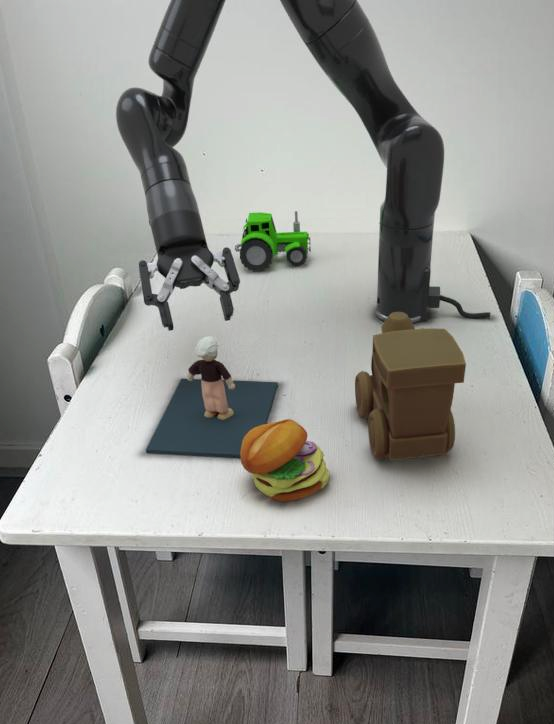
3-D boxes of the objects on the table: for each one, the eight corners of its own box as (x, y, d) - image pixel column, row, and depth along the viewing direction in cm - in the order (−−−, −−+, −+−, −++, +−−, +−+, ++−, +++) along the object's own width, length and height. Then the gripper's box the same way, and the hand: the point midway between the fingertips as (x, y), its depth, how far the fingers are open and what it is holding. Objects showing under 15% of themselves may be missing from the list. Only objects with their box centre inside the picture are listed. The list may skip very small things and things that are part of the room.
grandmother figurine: (242, 408, 113) (235, 332, 105) (236, 422, 110) (229, 345, 102) (194, 404, 115) (184, 330, 107) (187, 418, 112) (175, 342, 104)
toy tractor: (311, 270, 155) (310, 222, 149) (234, 273, 156) (229, 225, 150) (310, 250, 164) (309, 204, 158) (237, 253, 164) (233, 207, 158)
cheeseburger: (325, 510, 94) (304, 447, 88) (248, 517, 98) (222, 458, 92) (336, 462, 102) (317, 401, 96) (264, 470, 105) (242, 412, 100)
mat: (277, 385, 119) (277, 381, 119) (255, 458, 104) (255, 455, 103) (181, 381, 122) (181, 378, 121) (146, 453, 106) (145, 449, 106)
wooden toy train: (460, 470, 100) (474, 361, 89) (376, 479, 99) (381, 370, 89) (422, 393, 115) (431, 292, 105) (350, 400, 115) (351, 300, 104)
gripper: (126, 215, 105) (151, 323, 103) (224, 201, 108) (250, 306, 106) (128, 239, 112) (152, 341, 111) (219, 225, 115) (244, 324, 113)
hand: (200, 323), depth 108 cm, fingers open, 8 cm apart
